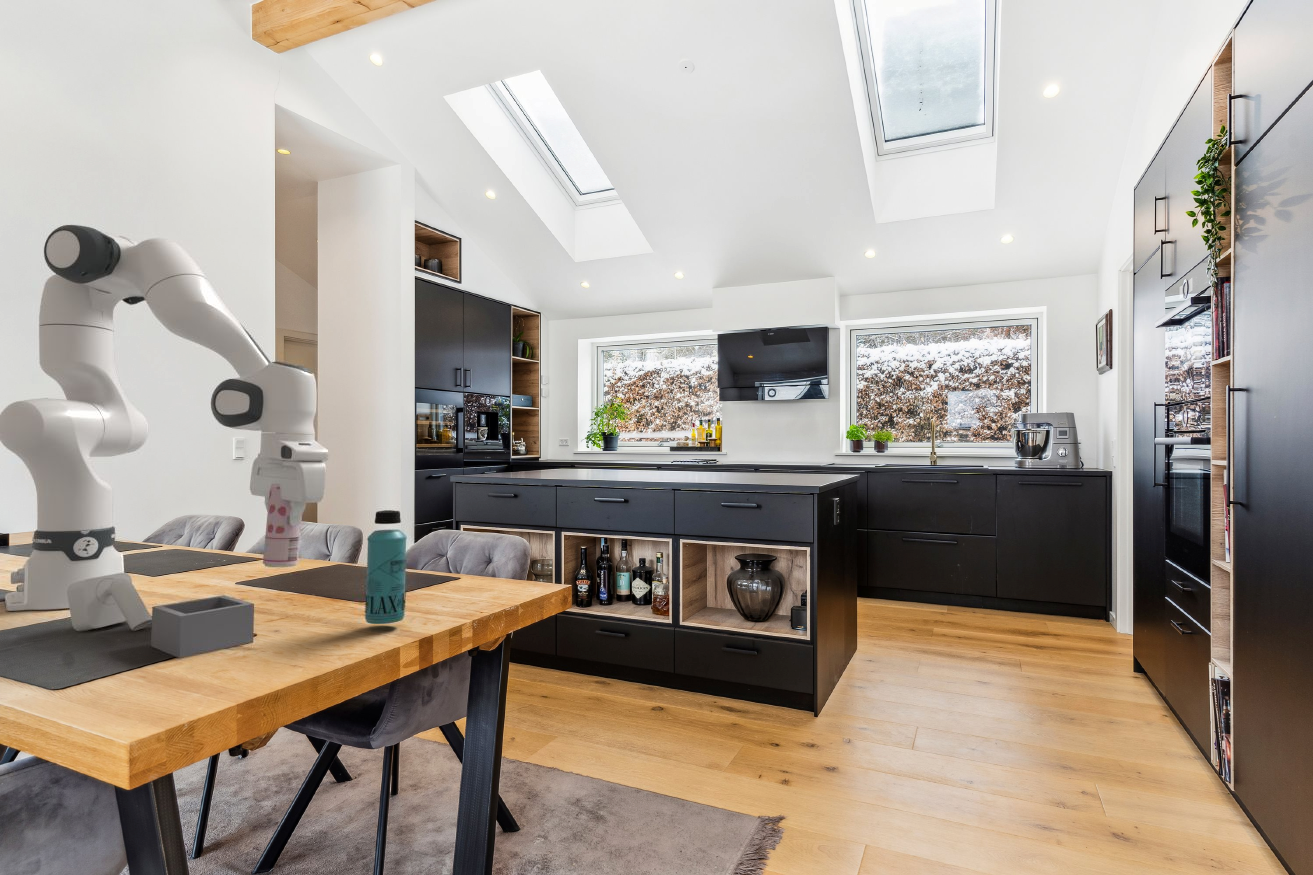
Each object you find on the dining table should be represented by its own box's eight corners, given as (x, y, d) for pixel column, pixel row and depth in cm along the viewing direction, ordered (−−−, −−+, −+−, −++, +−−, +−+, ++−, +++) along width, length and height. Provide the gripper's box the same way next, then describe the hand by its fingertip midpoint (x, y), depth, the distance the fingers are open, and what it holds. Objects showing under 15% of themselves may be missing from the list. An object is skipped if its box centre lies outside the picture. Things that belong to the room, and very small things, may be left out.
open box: (151, 646, 102) (152, 606, 102) (223, 631, 110) (224, 595, 110) (179, 658, 96) (181, 616, 96) (253, 642, 104) (254, 603, 105)
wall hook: (126, 633, 106) (115, 571, 107) (74, 644, 108) (65, 583, 109) (172, 621, 114) (162, 563, 115) (123, 631, 116) (114, 574, 117)
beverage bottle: (355, 632, 111) (358, 511, 111) (377, 622, 117) (380, 508, 118) (392, 634, 110) (395, 512, 110) (412, 624, 116) (415, 509, 117)
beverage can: (265, 562, 126) (272, 483, 127) (299, 562, 128) (306, 484, 129) (259, 567, 121) (267, 484, 121) (295, 567, 123) (302, 486, 123)
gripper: (242, 446, 128) (238, 519, 128) (299, 451, 117) (295, 530, 116) (276, 447, 133) (272, 517, 133) (334, 451, 122) (330, 527, 122)
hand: (283, 523), depth 125 cm, fingers closed on beverage can, 6 cm apart
